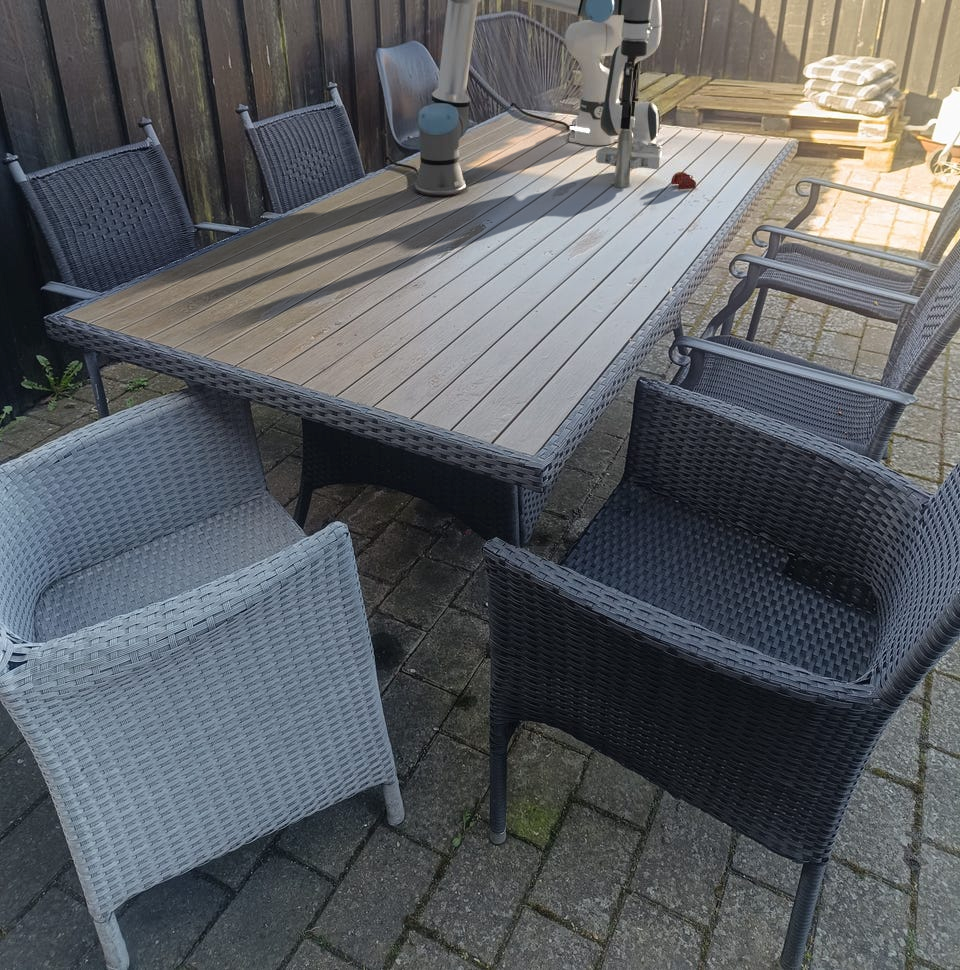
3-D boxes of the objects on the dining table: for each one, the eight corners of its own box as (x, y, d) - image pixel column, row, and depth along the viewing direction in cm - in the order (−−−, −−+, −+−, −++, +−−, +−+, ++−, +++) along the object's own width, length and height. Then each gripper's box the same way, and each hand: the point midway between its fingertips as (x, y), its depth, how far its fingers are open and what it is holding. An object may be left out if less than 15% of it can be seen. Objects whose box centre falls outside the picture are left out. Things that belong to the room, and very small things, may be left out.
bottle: (617, 182, 265) (623, 117, 254) (630, 184, 263) (637, 118, 252) (611, 186, 262) (617, 120, 250) (625, 188, 260) (631, 121, 248)
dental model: (687, 168, 262) (698, 175, 256) (685, 181, 264) (697, 189, 258) (670, 170, 261) (681, 177, 255) (669, 183, 263) (680, 191, 257)
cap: (631, 128, 250) (632, 119, 248) (617, 127, 251) (618, 118, 250) (636, 125, 253) (637, 116, 251) (622, 124, 255) (623, 115, 253)
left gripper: (642, 44, 231) (633, 134, 244) (654, 35, 244) (645, 121, 258) (615, 43, 233) (607, 132, 247) (628, 34, 246) (620, 119, 260)
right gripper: (603, 139, 269) (590, 150, 259) (666, 145, 263) (656, 156, 253) (601, 160, 273) (589, 171, 263) (663, 166, 267) (653, 178, 256)
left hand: (626, 126), depth 252 cm, fingers closed on cap, 4 cm apart
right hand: (622, 164), depth 258 cm, fingers closed on bottle, 4 cm apart
